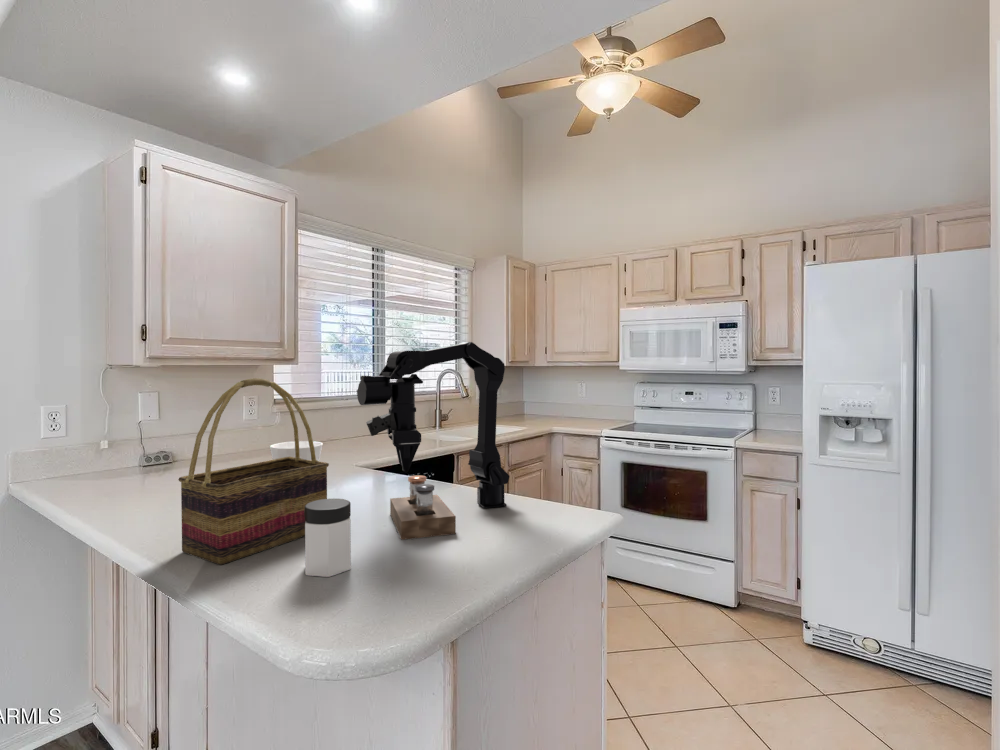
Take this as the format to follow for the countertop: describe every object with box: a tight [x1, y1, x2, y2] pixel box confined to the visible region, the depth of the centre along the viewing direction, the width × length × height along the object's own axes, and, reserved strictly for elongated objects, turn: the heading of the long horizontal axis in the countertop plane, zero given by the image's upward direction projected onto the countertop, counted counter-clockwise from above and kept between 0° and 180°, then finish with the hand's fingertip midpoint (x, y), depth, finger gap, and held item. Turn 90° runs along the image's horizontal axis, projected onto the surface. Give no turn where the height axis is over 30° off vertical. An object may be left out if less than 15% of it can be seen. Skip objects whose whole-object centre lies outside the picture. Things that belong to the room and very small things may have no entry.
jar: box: [304, 498, 352, 578], centre depth 94 cm, size 9×8×12 cm
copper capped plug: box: [407, 474, 427, 504], centre depth 125 cm, size 4×4×7 cm
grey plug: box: [415, 483, 435, 516], centre depth 116 cm, size 4×4×7 cm
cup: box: [269, 440, 324, 462], centre depth 141 cm, size 14×14×16 cm
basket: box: [177, 377, 330, 566], centre depth 109 cm, size 26×15×35 cm, turn 149°
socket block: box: [389, 494, 457, 541], centre depth 121 cm, size 12×20×4 cm, turn 19°
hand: (403, 467), depth 122 cm, fingers open, 9 cm apart
